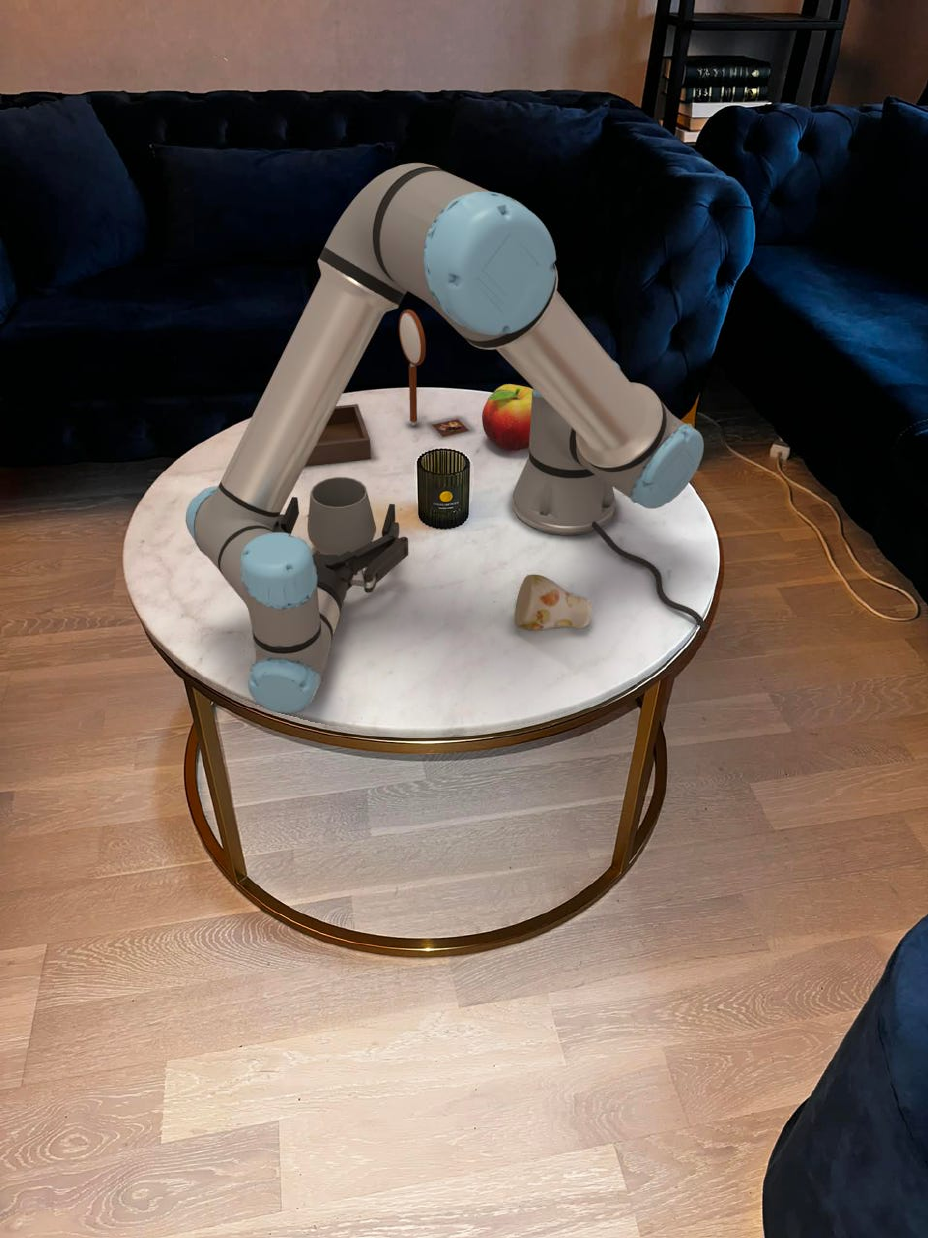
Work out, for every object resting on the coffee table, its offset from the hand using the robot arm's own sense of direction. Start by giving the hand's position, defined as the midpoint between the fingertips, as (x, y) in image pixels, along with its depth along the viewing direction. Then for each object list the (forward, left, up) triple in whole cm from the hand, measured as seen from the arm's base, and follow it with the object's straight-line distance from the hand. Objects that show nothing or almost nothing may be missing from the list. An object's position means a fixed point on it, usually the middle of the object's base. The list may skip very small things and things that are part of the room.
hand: (343, 508), depth 130 cm
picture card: (+29, -22, -6) cm, 37 cm away
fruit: (+22, -31, -6) cm, 39 cm away
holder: (+28, -1, -6) cm, 29 cm away
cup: (-2, +1, -6) cm, 6 cm away
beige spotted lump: (-23, -23, -6) cm, 33 cm away
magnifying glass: (+31, -16, -6) cm, 35 cm away
